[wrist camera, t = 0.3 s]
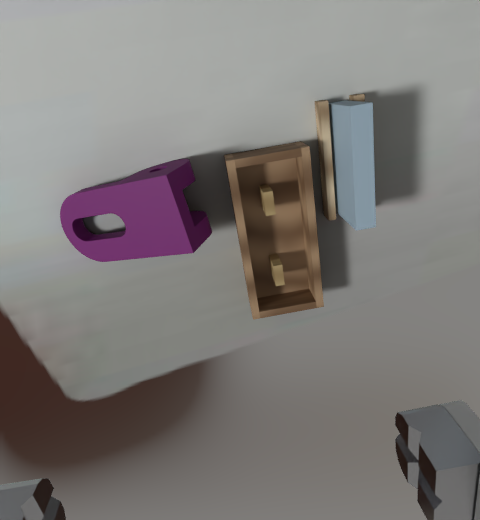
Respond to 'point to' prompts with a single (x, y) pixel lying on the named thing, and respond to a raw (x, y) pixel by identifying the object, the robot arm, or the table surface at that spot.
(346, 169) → the door
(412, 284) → the table surface
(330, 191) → the door stand
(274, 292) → the box
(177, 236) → the mounting bracket
